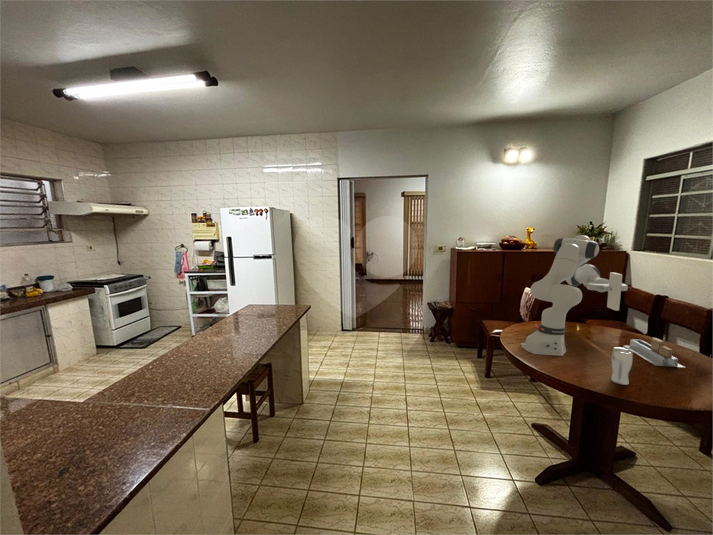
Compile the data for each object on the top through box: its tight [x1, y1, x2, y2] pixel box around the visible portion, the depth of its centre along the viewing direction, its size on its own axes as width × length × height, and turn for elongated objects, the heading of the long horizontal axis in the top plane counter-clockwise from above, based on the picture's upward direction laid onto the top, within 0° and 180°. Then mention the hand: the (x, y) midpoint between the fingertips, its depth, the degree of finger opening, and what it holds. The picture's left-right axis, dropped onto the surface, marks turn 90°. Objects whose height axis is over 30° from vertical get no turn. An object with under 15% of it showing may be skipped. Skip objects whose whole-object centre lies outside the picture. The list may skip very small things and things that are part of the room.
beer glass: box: [610, 346, 634, 386], centre depth 129 cm, size 7×7×15 cm
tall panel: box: [606, 271, 623, 312], centre depth 173 cm, size 2×8×22 cm, turn 166°
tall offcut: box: [650, 337, 665, 353], centre depth 148 cm, size 2×5×10 cm, turn 166°
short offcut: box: [659, 345, 673, 358], centre depth 143 cm, size 2×5×8 cm, turn 166°
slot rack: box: [622, 338, 686, 369], centre depth 151 cm, size 12×25×6 cm, turn 166°
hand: (614, 289), depth 174 cm, fingers closed on tall panel, 2 cm apart
